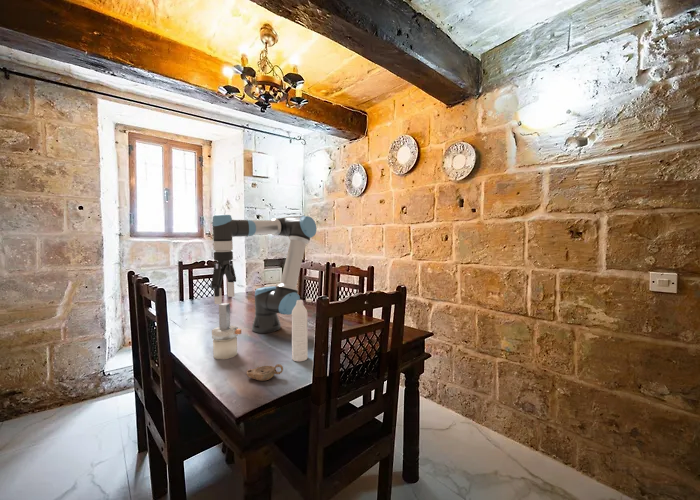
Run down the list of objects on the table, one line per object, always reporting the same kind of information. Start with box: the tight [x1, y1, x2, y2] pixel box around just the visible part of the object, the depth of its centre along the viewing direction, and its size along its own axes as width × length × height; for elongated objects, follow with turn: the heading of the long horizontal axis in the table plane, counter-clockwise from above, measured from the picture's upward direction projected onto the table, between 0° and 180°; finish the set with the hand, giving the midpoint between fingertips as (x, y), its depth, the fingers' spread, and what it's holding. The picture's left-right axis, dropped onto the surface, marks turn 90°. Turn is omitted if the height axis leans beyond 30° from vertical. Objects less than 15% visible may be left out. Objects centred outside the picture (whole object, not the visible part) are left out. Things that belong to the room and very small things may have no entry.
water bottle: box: [291, 298, 313, 363], centre depth 129 cm, size 9×6×25 cm
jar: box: [212, 336, 238, 360], centre depth 133 cm, size 10×10×8 cm
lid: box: [211, 302, 242, 340], centre depth 133 cm, size 12×10×14 cm
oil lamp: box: [246, 363, 284, 382], centre depth 113 cm, size 13×8×5 cm, turn 89°
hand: (225, 300), depth 132 cm, fingers open, 13 cm apart
